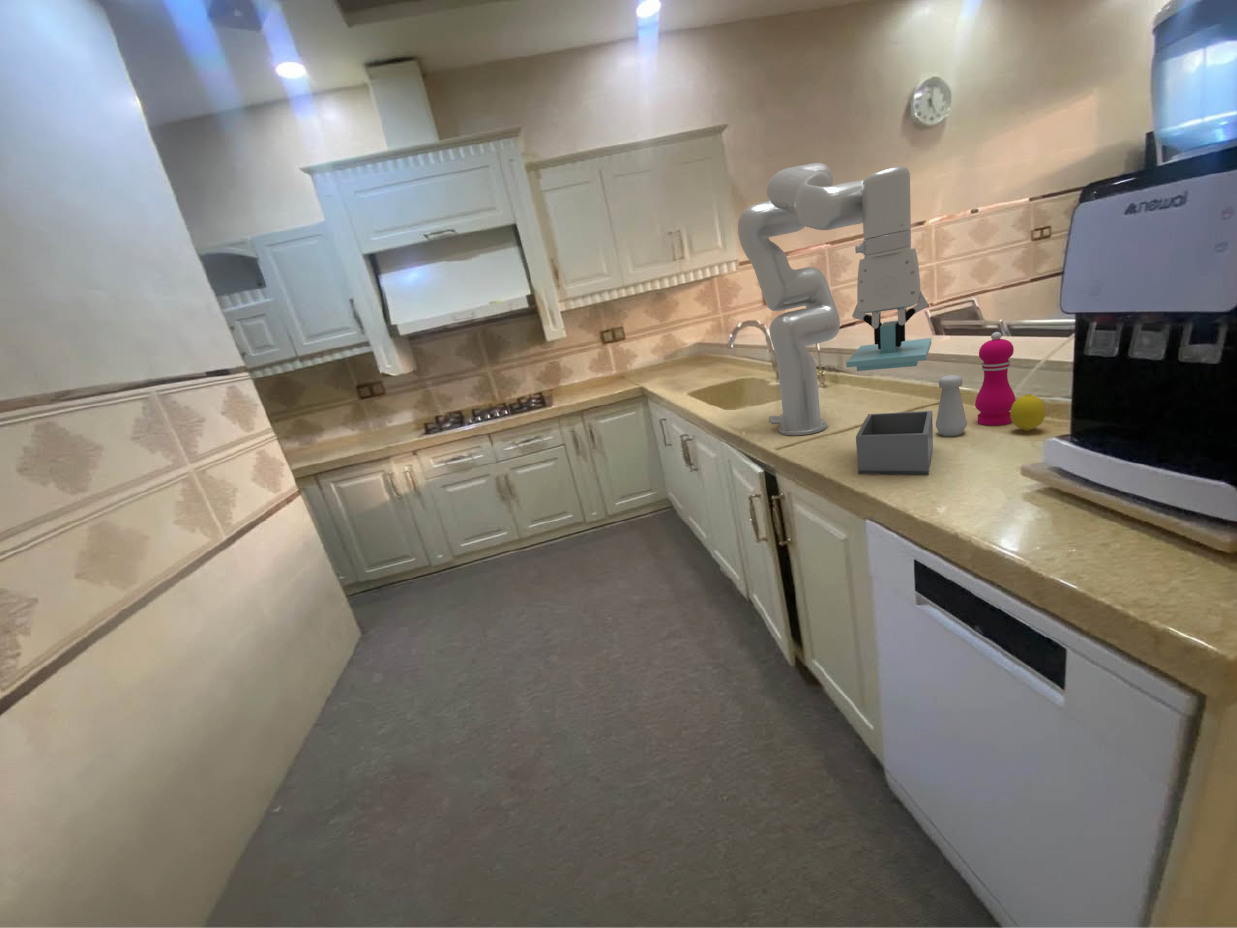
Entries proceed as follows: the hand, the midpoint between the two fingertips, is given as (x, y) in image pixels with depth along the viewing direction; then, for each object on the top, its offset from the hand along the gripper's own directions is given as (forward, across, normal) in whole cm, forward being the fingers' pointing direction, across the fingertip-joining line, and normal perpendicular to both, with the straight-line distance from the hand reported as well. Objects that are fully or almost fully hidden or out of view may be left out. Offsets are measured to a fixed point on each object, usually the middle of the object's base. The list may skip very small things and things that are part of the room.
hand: (889, 346), depth 95 cm
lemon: (+24, +23, +16) cm, 37 cm away
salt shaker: (+24, +10, +16) cm, 30 cm away
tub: (+24, +1, -1) cm, 24 cm away
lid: (+3, 0, 0) cm, 3 cm away
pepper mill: (+24, +18, +24) cm, 38 cm away
